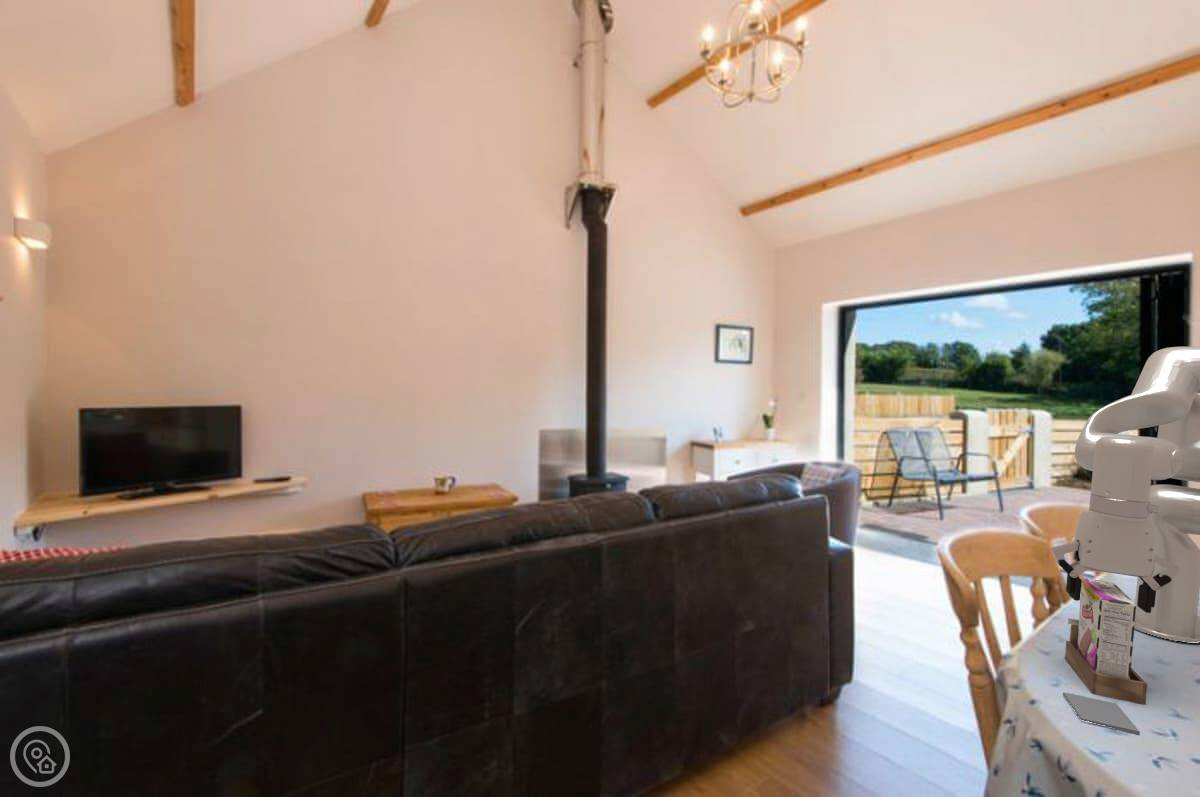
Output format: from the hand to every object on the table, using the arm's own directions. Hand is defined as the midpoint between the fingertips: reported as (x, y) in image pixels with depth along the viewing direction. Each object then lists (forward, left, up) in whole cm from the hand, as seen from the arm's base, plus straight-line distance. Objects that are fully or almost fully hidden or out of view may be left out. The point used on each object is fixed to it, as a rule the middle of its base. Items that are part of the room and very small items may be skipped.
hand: (1108, 603), depth 99 cm
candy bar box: (0, 0, -14) cm, 14 cm away
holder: (0, 0, -14) cm, 14 cm away
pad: (+4, +13, -14) cm, 20 cm away
